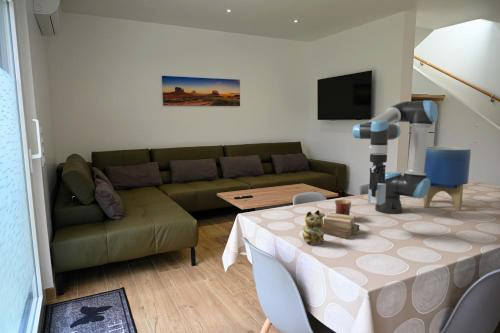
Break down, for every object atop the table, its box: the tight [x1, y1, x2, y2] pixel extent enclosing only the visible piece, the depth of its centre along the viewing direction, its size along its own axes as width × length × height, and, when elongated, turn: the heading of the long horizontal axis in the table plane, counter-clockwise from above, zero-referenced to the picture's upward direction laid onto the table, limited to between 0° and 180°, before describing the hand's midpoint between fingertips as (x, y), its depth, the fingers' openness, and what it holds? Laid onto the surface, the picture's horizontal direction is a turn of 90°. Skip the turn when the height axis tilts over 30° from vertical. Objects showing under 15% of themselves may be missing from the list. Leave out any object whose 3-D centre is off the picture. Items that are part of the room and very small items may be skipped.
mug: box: [334, 199, 352, 215], centre depth 180 cm, size 12×9×10 cm
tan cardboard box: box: [320, 223, 360, 240], centre depth 159 cm, size 14×14×4 cm
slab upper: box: [323, 212, 356, 231], centre depth 159 cm, size 12×12×4 cm
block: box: [367, 183, 386, 205], centre depth 157 cm, size 6×6×9 cm
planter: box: [422, 145, 472, 212], centre depth 205 cm, size 26×26×37 cm
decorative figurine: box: [302, 209, 326, 246], centre depth 146 cm, size 10×8×15 cm
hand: (376, 201), depth 157 cm, fingers closed on block, 6 cm apart
